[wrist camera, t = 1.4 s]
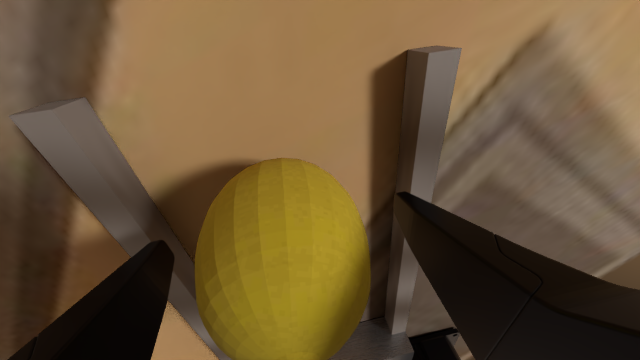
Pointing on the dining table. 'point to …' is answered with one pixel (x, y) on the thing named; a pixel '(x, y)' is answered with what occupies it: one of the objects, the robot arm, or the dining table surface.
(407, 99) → the channel
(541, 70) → the dining table surface
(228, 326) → the lemon
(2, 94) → the dining table surface
